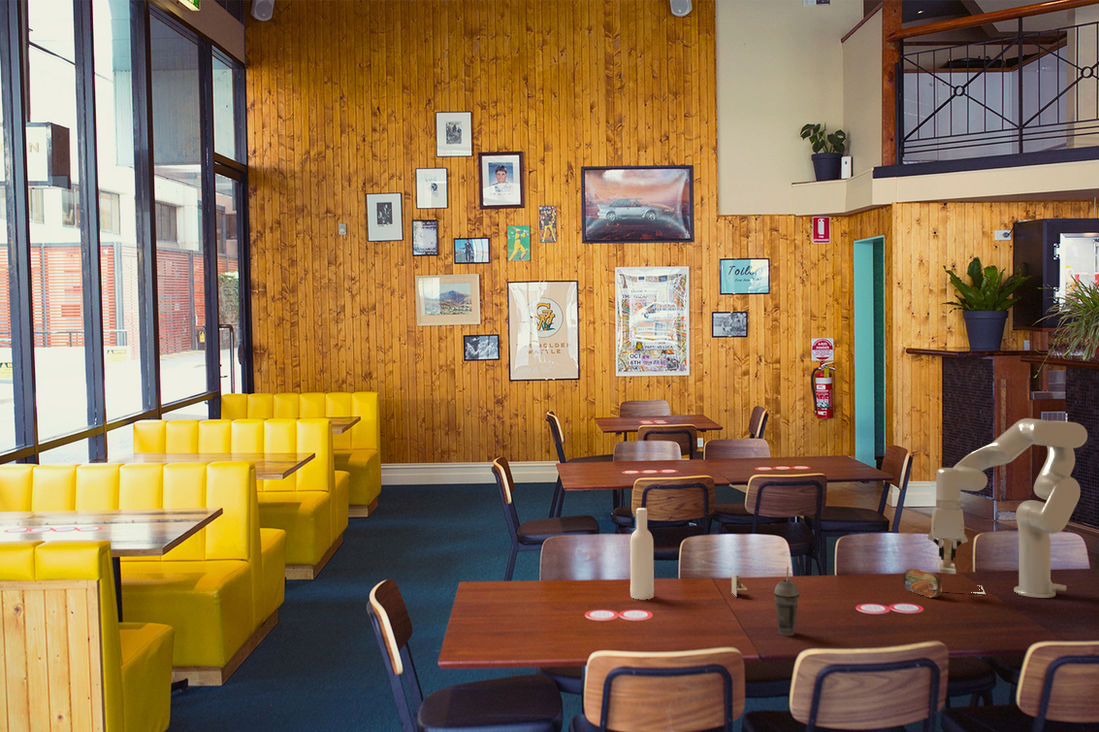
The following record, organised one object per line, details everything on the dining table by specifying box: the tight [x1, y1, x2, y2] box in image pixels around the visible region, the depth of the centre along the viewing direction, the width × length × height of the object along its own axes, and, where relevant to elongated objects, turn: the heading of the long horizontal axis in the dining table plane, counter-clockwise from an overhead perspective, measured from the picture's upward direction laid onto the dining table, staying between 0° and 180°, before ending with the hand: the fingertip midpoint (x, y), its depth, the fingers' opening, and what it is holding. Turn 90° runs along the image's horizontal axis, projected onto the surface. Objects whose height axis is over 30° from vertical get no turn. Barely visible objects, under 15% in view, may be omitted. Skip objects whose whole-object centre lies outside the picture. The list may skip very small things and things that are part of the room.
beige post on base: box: [937, 538, 957, 575], centre depth 315 cm, size 5×8×11 cm, turn 161°
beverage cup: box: [773, 566, 800, 637], centre depth 275 cm, size 7×7×20 cm
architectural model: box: [731, 573, 748, 598], centre depth 318 cm, size 3×7×7 cm, turn 4°
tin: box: [902, 568, 943, 599], centre depth 318 cm, size 15×3×8 cm, turn 25°
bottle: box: [629, 507, 655, 601], centre depth 317 cm, size 8×8×30 cm
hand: (947, 558), depth 315 cm, fingers closed on beige post on base
